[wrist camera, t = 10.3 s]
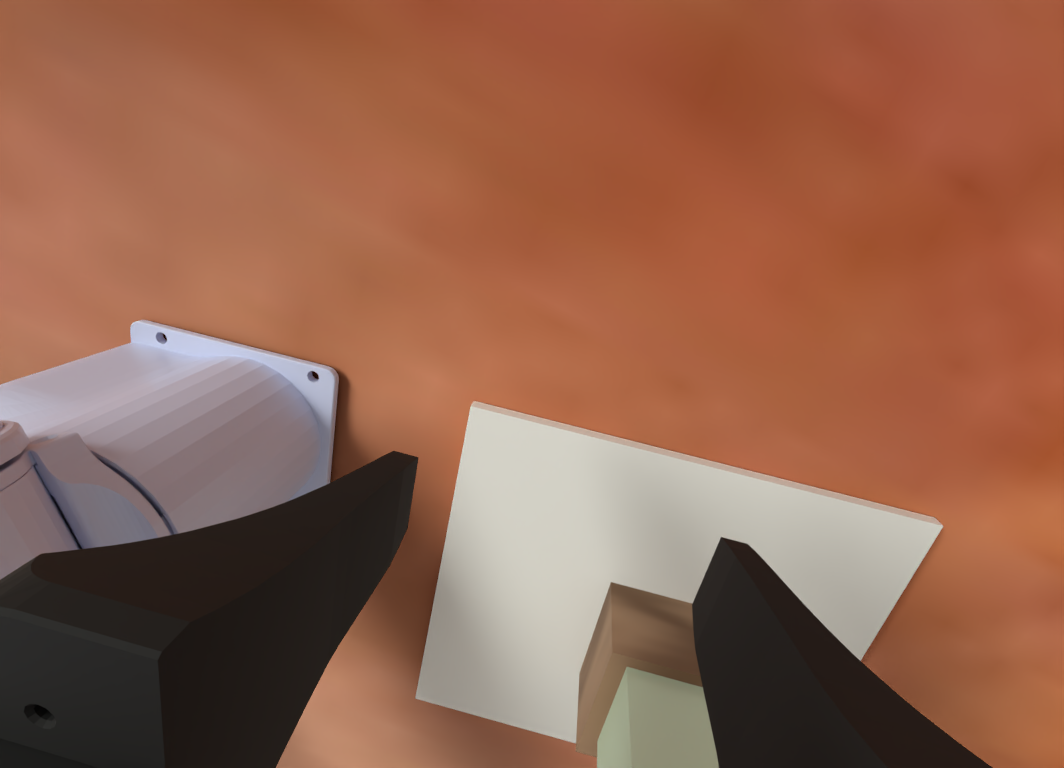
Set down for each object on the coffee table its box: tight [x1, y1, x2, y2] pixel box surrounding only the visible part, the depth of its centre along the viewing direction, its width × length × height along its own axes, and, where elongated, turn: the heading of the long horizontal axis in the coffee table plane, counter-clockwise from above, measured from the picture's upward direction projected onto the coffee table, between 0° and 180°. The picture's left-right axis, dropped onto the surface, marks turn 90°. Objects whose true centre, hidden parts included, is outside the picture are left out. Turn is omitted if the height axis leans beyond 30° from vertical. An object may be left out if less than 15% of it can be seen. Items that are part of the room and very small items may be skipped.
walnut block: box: [576, 582, 703, 757], centre depth 23 cm, size 6×6×4 cm
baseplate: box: [415, 401, 943, 743], centre depth 25 cm, size 20×18×1 cm
